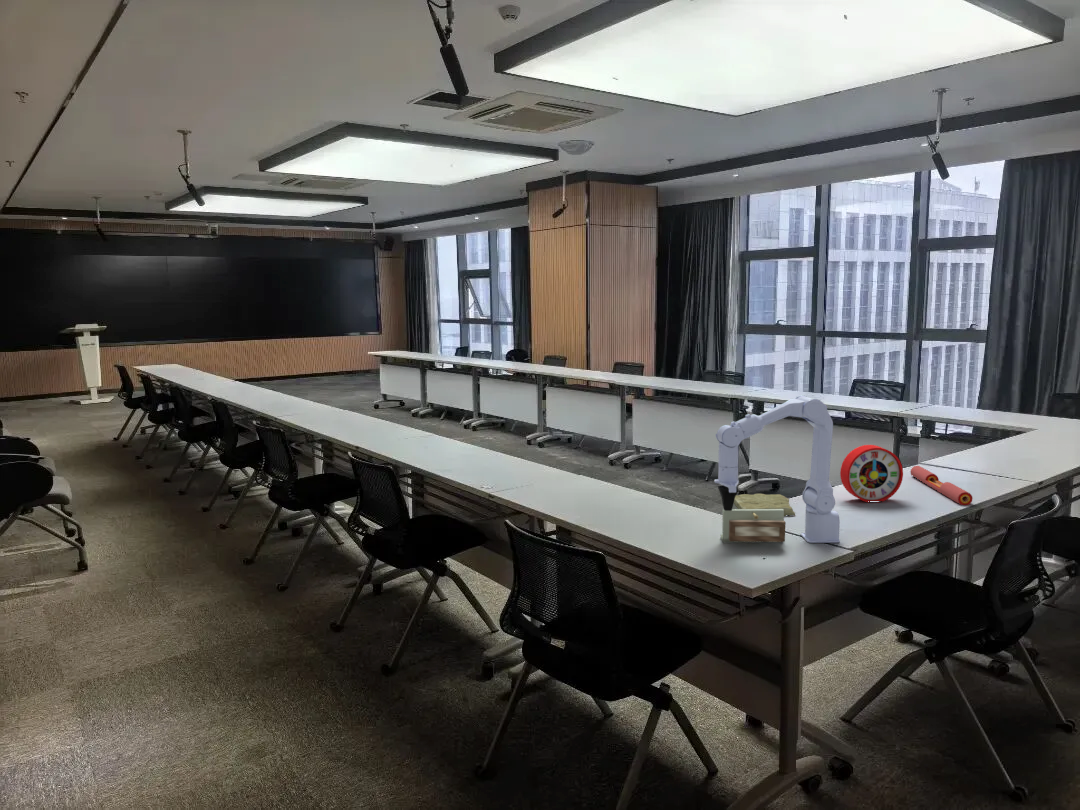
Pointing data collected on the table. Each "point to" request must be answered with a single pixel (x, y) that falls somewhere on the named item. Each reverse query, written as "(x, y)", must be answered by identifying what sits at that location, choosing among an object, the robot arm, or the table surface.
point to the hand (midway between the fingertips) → (727, 510)
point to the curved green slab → (748, 518)
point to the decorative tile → (763, 502)
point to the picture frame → (757, 530)
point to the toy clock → (871, 473)
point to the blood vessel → (942, 486)
